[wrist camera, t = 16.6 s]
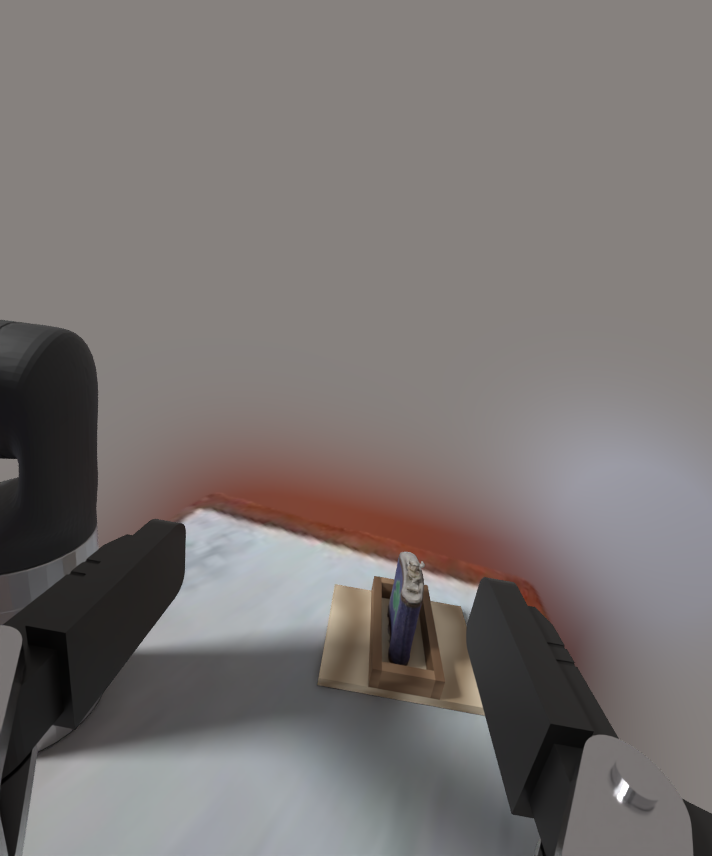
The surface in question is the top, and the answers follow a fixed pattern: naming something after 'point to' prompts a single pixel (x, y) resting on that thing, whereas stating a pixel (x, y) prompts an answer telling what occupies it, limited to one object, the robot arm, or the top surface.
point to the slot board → (368, 648)
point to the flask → (404, 607)
